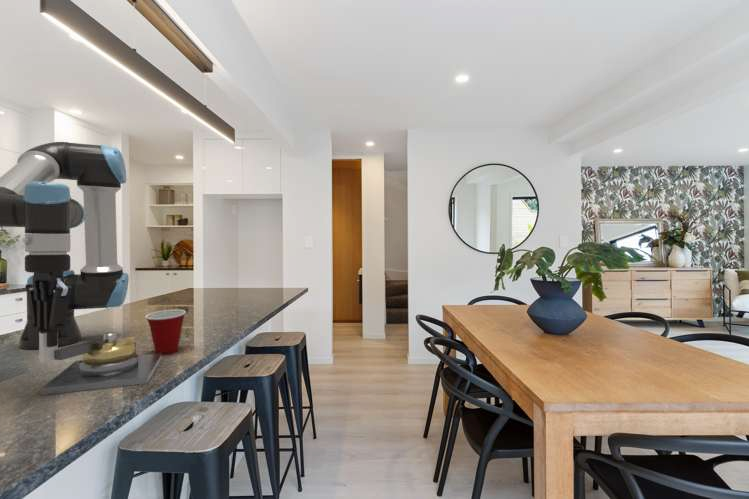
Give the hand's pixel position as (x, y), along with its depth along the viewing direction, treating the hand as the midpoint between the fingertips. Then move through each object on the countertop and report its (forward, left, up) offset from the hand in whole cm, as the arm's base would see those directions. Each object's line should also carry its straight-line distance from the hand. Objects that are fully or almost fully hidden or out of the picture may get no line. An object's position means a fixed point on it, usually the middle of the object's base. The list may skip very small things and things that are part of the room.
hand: (48, 360), depth 82 cm
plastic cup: (-26, +19, -7) cm, 33 cm away
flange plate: (-9, +9, -7) cm, 14 cm away
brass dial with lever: (-6, +7, -3) cm, 10 cm away
